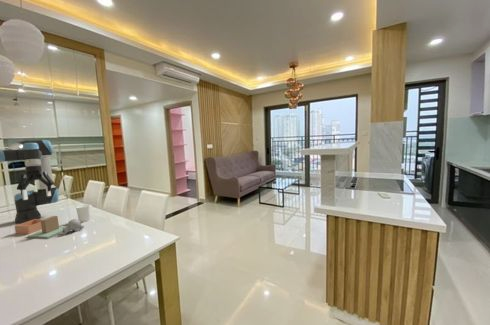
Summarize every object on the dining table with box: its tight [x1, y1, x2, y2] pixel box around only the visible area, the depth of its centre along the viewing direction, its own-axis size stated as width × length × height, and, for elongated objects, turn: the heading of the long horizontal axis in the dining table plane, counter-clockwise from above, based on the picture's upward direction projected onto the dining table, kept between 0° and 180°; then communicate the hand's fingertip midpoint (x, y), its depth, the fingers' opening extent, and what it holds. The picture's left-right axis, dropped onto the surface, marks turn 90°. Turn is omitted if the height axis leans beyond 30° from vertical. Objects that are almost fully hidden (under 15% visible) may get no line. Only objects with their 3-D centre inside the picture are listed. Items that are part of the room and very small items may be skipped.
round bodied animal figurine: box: [60, 218, 85, 236], centre depth 144 cm, size 7×12×8 cm, turn 145°
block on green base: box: [27, 215, 67, 239], centre depth 145 cm, size 16×16×10 cm
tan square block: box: [14, 218, 44, 235], centre depth 151 cm, size 12×12×6 cm
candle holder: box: [75, 203, 93, 223], centre depth 165 cm, size 10×10×12 cm
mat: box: [24, 232, 62, 240], centre depth 145 cm, size 19×19×1 cm
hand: (37, 197), depth 141 cm, fingers open, 13 cm apart
